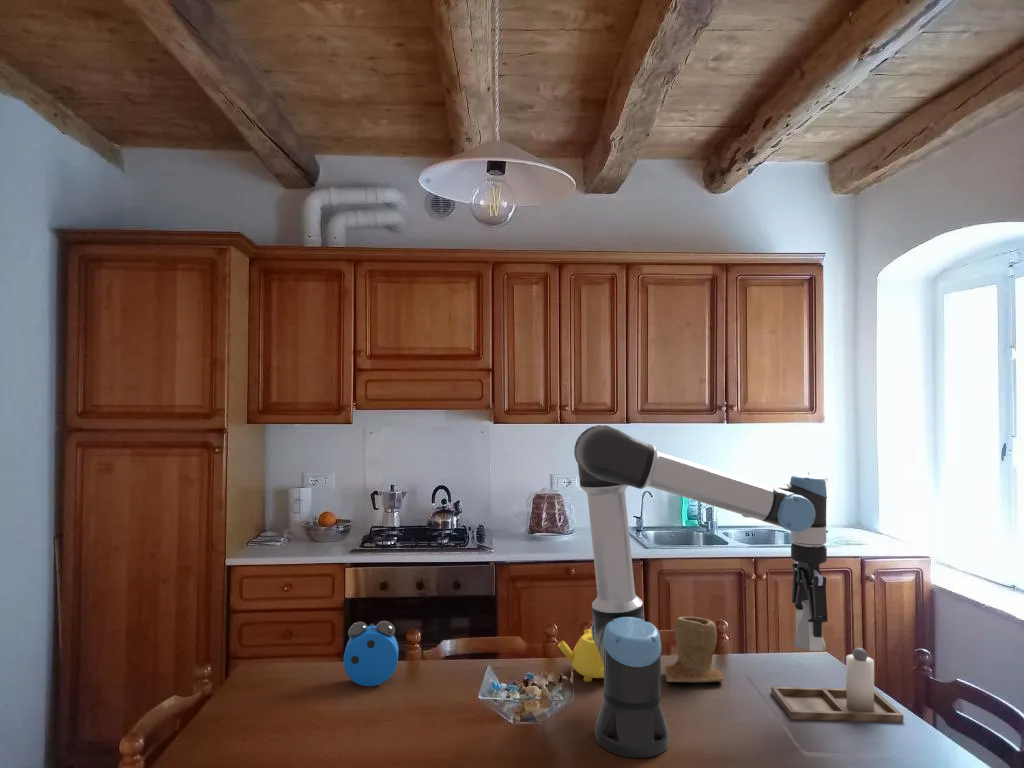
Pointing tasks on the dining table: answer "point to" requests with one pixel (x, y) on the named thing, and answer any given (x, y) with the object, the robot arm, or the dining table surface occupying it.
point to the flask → (804, 629)
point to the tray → (830, 705)
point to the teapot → (585, 657)
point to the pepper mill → (860, 681)
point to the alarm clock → (371, 653)
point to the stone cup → (694, 652)
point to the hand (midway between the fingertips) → (809, 643)
